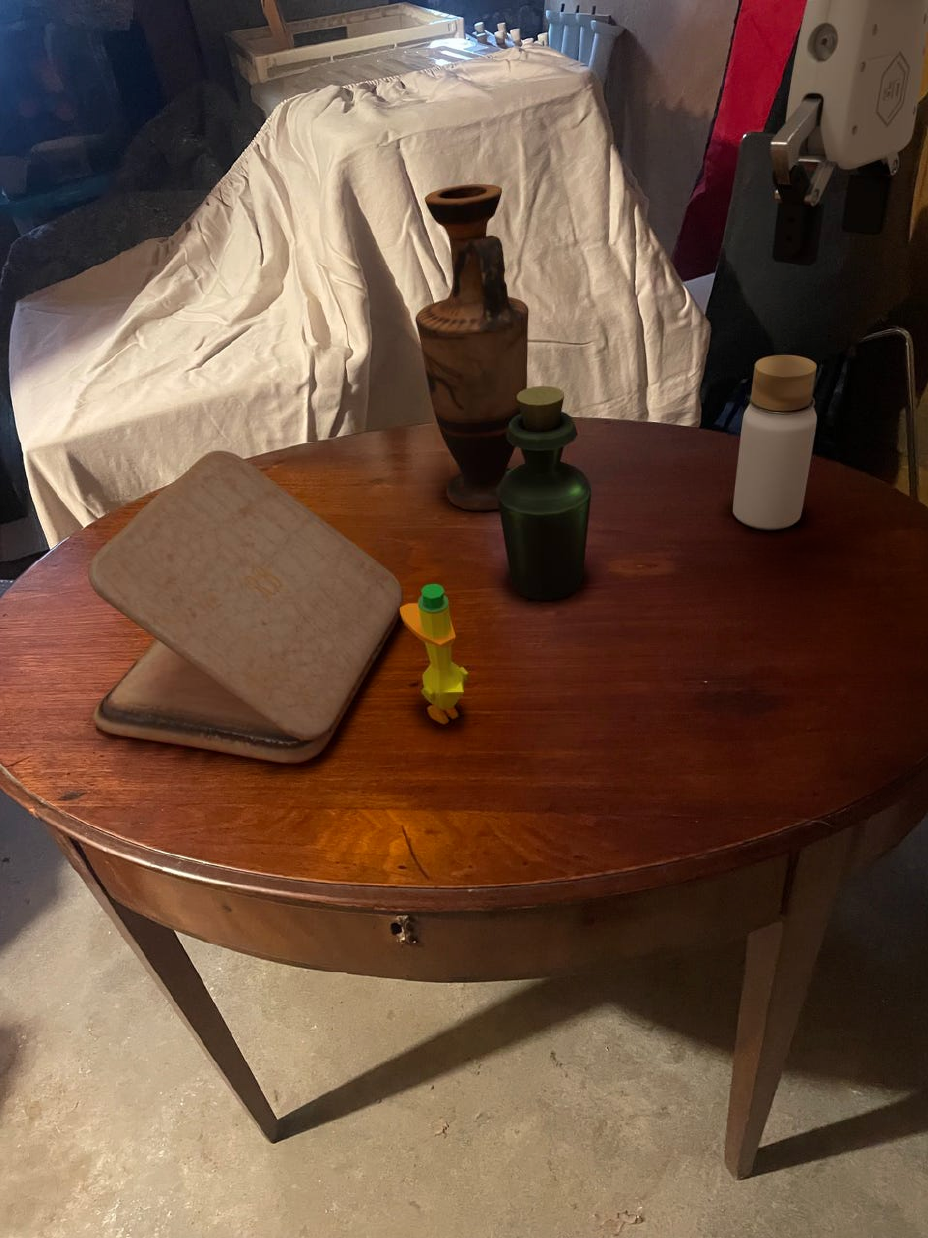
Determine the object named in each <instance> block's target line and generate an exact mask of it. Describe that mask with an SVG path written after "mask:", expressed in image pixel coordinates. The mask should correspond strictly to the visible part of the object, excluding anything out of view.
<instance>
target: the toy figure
mask: <svg viewBox="0 0 928 1238" xmlns="http://www.w3.org/2000/svg"><path fill="white" fill-rule="evenodd" d="M420 591H421V596H420V597H419V598H418V600H417V602H416V603H413V602H412V603H411V602H410V603H409V602H408V603H406V604H405V605H401V606H400V608H399V614H400V616H401V620H402V622H403V623H404V625H405V627H406V628H407V629H408V630H409V631H410V632H411V633H412V634H413V635H414V636H415V637H416V638H418V639H419V640H420V641H422V642H423V643H424V645H425V648H426V653H427V655H428V658H429V662H430V664H429V666H428V667H427V668H426V669H425V671H424V672H423V673H422V674H421V678H422V685H423V688H421V694H422V695H423V697H424V698H425V699H426V701H428V702H429V703H430V704H431V705H429V706H428V707H427V708H426V710H427V713H428V715H429V717H430V718H431V719H432V720H434V721H435V722H437V723H440V724H442V725H446V724H447V723H448V722H450V721H449V718H451V719H452V720H454V719H457V718H459V713H458V711H457V709H456V707H455V706H456V705H457V703H458V702H459V701H460V699H461V698H462V696H463V695H464V694H465V692H466V691H465V683H469V672H468V671H467V670H466V669H465V668H464V666H461V667H460V666H459V665H458V664H456V663H455V662H454V661H452V646H453V644H454V642H455V641H456V639H457V636H456V633H455V629H454V626H453V623H452V619H451V613H450V605H449V603H450V602H449V598H448V596H446V595H445V589H444V587H443V585H440V584H437V583H430V584H425V586H423V588H422V589H420Z"/></svg>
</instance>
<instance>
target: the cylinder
mask: <svg viewBox="0 0 928 1238" xmlns="http://www.w3.org/2000/svg"><path fill="white" fill-rule="evenodd" d="M816 374H817V363H816V362H814V361H813V360H812V359H809V358H807V357H804V356H799V355H793V354H774V355H769V356H765V357H762V358H760V359H758V360H757V361H756V362H755V364H754V370H753V377H752V378H753V379H752V386H751V395H750V398H751V401H752V402H753V403H754V404H755V405H757V406H759V407H761V408H764V409H768V410H774V411H793V410H798V409H802V408H805V407H807V406H808V405H809V404H810V403H811V400H812V397H813V392H814V386H815V380H816Z"/></svg>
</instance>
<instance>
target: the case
mask: <svg viewBox="0 0 928 1238" xmlns="http://www.w3.org/2000/svg"><path fill="white" fill-rule="evenodd" d="M87 576H88V581H89V583H90V586H91V588H92V590H93V591H94V592H95V593H96V595H97V596H99V597H100V598H101V599H102V600H103V601H104V602H106V603H107V604H108V605H110V606H111V607H112V608H114V609H115V610H116V611H117V612H119V613H120V614H121V615H123V616H125V618H127V619H128V620H130V621H131V622H133V623H134V624H136V625H137V626H138V627H140V628H141V629H142V630H144V631H145V632H146V633H148V634H149V635H150V636H152V637H153V638H154V640H153V641H152V642H151V644H149V646H148V647H147V649H145V650H144V651H143V653H142V654H141V655H140V656H139V657H138V658H137V659H136V660H135V662H134V663H133V664H132V665H131V666H130V667H129V668H128V670H127V671H125V673H124V674H123V675H122V676H121V677H120V678H119V679H118V681H117V682H116V683H115V684H114V685H113V686H112V687H111V689H109V691H107V693H106V694H105V695H104V696H103V697H102V698H101V700H100V701H99V702H98V703H97V705H96V707H95V708H94V710H93V714H92V720H93V723H94V725H95V726H96V727H97V728H98V729H100V730H101V731H103V732H105V733H107V734H112V735H115V736H121V737H128V738H134V739H140V740H147V741H152V742H153V741H154V742H159V743H167V744H171V745H179V746H184V747H191V748H195V749H203V750H209V751H213V752H214V751H215V752H219V753H224V754H229V755H234V756H241V757H245V758H251V759H255V760H262V761H267V762H272V763H273V762H274V763H278V764H299V763H303V762H304V763H305V762H307V761H309V760H311V759H313V758H315V757H317V756H318V755H319V754H321V752H322V751H324V750H325V748H326V747H327V745H328V744H329V742H330V741H331V739H332V737H333V735H334V734H335V732H336V729H337V728H338V726H339V724H340V722H341V721H342V719H343V717H344V715H345V714H346V712H347V710H348V708H349V707H350V705H351V703H352V701H353V699H354V697H355V696H356V694H357V692H358V691H359V688H360V686H361V684H363V681H364V680H365V678H366V677H367V674H368V673H369V671H370V669H371V668H372V666H373V664H374V662H375V661H376V658H377V657H378V655H379V653H380V652H381V651H382V648H383V646H384V644H385V643H386V641H387V640H388V638H389V636H390V635H391V634H392V631H393V630H394V628H395V626H396V624H397V622H398V620H399V617H400V607H402V602H403V588H402V587H401V584H400V582H399V580H398V579H397V577H396V576H395V575H394V574H393V573H392V572H391V571H390V570H389V569H387V568H386V567H385V566H383V565H382V564H381V563H380V562H378V561H377V560H376V559H375V558H373V557H371V556H370V555H369V554H368V553H366V552H365V551H364V550H362V549H361V548H360V547H359V546H357V545H356V544H355V543H353V542H352V540H350V539H348V538H347V537H346V536H345V535H343V534H342V533H341V532H339V531H338V529H337V530H336V529H335V528H334V527H333V526H332V525H330V524H329V523H328V522H326V521H325V520H324V519H323V518H322V517H321V516H319V515H318V514H316V513H315V512H313V511H312V510H311V509H309V507H307V506H306V505H305V504H303V503H301V501H300V500H298V499H297V498H295V497H294V496H293V495H292V494H291V493H289V492H287V490H285V489H284V488H282V487H281V486H280V485H279V484H277V483H276V482H275V481H273V480H272V479H271V478H269V477H268V476H267V475H266V474H264V473H263V472H262V471H260V470H259V469H258V468H257V467H255V466H254V464H252V463H250V462H249V461H247V460H246V459H244V458H242V457H241V456H239V455H238V454H236V453H234V452H232V451H231V452H230V451H227V450H213V451H209V452H208V453H206V454H205V455H203V456H202V457H201V458H199V459H198V460H197V461H196V462H195V463H194V464H193V465H192V466H190V467H189V468H188V469H187V470H186V471H185V472H184V473H183V474H181V475H180V476H179V477H178V478H175V480H174V481H172V482H171V483H170V484H168V485H167V486H166V487H165V488H164V489H163V490H161V491H160V492H159V493H157V495H155V496H154V497H153V498H152V499H151V500H150V501H149V502H148V503H146V504H145V505H144V506H143V508H141V509H140V510H139V511H138V512H137V514H135V515H134V517H132V519H131V521H129V522H128V524H126V525H125V526H124V527H123V528H122V529H121V530H120V531H119V532H118V533H116V534H115V535H114V536H113V537H112V538H111V539H109V540H108V541H107V542H106V543H105V544H104V545H103V546H102V547H101V548H100V549H99V550H98V551H97V552H96V553H95V555H94V556H93V557H92V558H91V561H90V562H89V565H88V569H87Z"/></svg>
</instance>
